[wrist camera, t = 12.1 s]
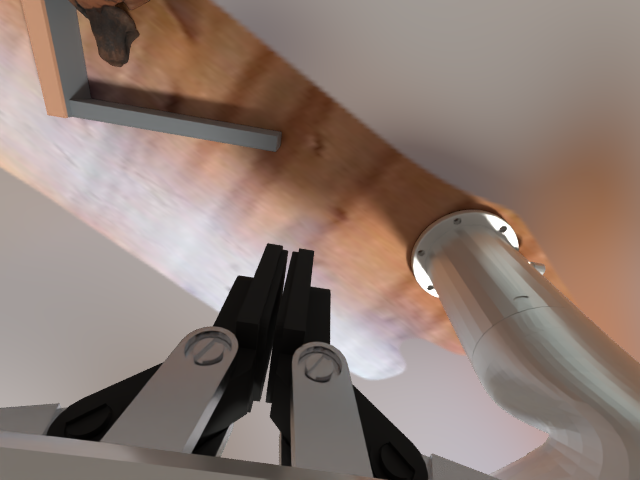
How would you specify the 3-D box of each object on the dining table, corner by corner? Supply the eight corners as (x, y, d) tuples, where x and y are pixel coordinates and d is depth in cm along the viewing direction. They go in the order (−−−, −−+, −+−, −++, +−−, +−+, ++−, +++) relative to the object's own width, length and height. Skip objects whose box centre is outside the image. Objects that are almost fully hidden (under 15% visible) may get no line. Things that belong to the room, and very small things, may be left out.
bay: (304, -94, 25) (299, -123, 21) (280, 146, 33) (274, 153, 30) (29, -150, 24) (-24, -191, 20) (78, 111, 33) (47, 115, 29)
